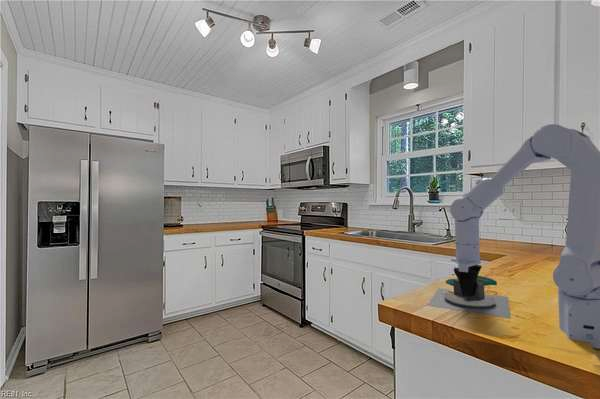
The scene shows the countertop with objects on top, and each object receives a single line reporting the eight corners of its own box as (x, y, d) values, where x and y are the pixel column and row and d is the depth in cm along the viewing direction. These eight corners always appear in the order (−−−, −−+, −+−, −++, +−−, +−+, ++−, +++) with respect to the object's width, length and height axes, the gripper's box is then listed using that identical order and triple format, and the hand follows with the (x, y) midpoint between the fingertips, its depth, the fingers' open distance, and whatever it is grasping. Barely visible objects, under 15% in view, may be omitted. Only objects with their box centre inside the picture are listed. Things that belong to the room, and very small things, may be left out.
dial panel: (510, 323, 69) (510, 317, 69) (427, 309, 79) (427, 304, 79) (508, 301, 84) (508, 296, 84) (438, 291, 94) (438, 287, 94)
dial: (504, 302, 79) (504, 283, 79) (478, 311, 73) (478, 290, 73) (460, 291, 90) (460, 274, 90) (435, 298, 84) (434, 280, 84)
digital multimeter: (443, 287, 100) (443, 278, 100) (478, 283, 105) (478, 274, 105) (461, 293, 93) (461, 284, 93) (498, 288, 98) (497, 279, 98)
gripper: (456, 239, 90) (457, 285, 90) (445, 245, 78) (446, 297, 78) (483, 240, 86) (484, 288, 85) (476, 247, 74) (477, 303, 74)
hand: (468, 293), depth 82 cm, fingers closed on dial, 4 cm apart
